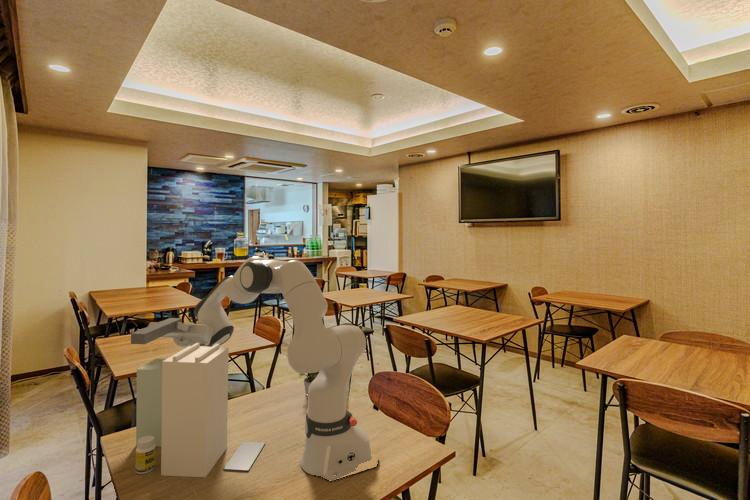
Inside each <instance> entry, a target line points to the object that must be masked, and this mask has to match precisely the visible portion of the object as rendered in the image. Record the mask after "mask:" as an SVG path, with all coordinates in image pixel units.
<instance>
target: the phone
mask: <svg viewBox="0 0 750 500" xmlns="http://www.w3.org/2000/svg"><path fill="white" fill-rule="evenodd" d="M265 445H266V442H258V441H257V442H255V441H242V443H241V444H240V445H239V446H238V448H237V449H236V450H235V452H234V453H233V455H232V456H231V458H229V461H227V463H226V464H225V466H224V467H223V471H226V472H228V471H229V472H239V473H240V472H243V473H249V472H250V469H251V468H252V466H253V465H254V464H255V462H256V460H257V458H258V457H259V455H260V453H261V452H262V451H263V449H264V447H265Z"/></svg>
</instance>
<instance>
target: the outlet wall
mask: <svg viewBox="0 0 750 500" xmlns="http://www.w3.org/2000/svg"><path fill="white" fill-rule="evenodd" d="M229 350H230V349H229V347H227V346H226V347H223V346H221V345H220V344H215V345H214V346H212V347H203V346H200V343H195V344H194V345H192V346H188V347H187V348H185V349H184V348H182V349H181V350H180V351H178V352H176V353H174V354H173V355H171V356H168V357H167V358H165V359H166V360H164V361H162V441H161V449H160V450H161V452H160V453H161V455H160V456H161V458H160V460H161V461H160V465H161V467H160V470H161V471H160V472H161V473H160V476H164V477H165V476H166V477H167V476H169V477H189V478H191V477H193V478H207V477H208V475H209V473H210V472H211V470H212V469H213V468H214V466H215V465H216V464H217V462H218V461H219V459H220V458H221V457H222V456H223V454H224V453H225V451H226V450H227V449H228V414H229V412H228V408H229V407H228V405H229V404H228V403H229V402H228V400H229V399H228V397H229V355H230V353H229V352H230V351H229Z"/></svg>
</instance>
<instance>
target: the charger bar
mask: <svg viewBox="0 0 750 500" xmlns="http://www.w3.org/2000/svg"><path fill="white" fill-rule="evenodd" d="M176 322H181V323H183V319H182V317H181V318H180V317H178V318H177V317H169V318H167V319H164V320H161V322H160V321H158V323H156V324H154V325H151V326H149V327H148V326H146V327H143V328H141V329H139V330H136V331H134V332H131V333H130V345H146V344H147V345H148V343H151V342H153V341H155V340H157V339H159V338H162V336H164V335H166V334H168V333H170V332H172V331H175V330H177V328H175V325H176Z"/></svg>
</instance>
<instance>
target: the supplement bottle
mask: <svg viewBox="0 0 750 500" xmlns="http://www.w3.org/2000/svg"><path fill="white" fill-rule="evenodd" d="M156 447H157V446H156V445H155V443H154V437H153V436H144V437H142V438H140V439H139V440H138V441H137V445H136V447H135V448H136V449H135V466H134V467H135V470H134V472H135V474H138V475H144V474H148V473H150V472H152V471H153V470H155V468H156V458H157V457H156V454H157V453H156V452H157V451H156V450H157V449H156Z"/></svg>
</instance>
